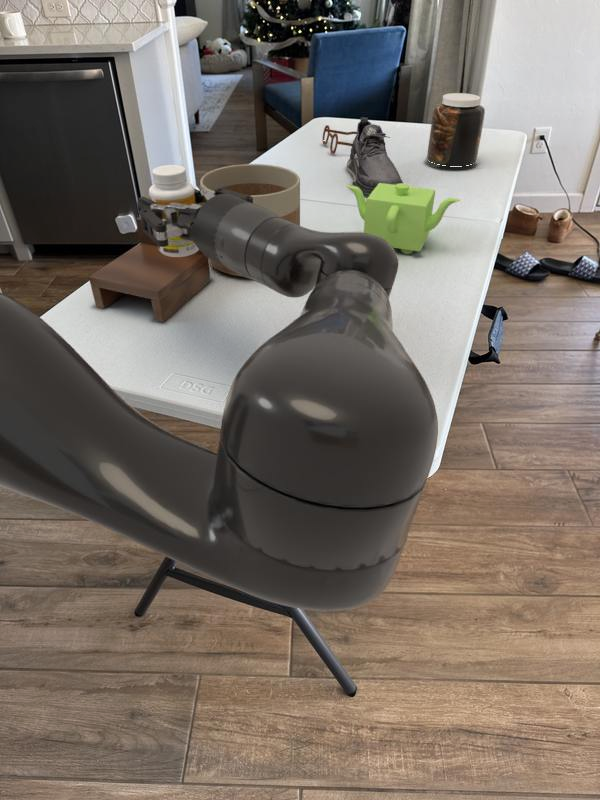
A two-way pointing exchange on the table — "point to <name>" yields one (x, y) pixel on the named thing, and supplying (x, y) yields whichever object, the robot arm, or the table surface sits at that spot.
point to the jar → (456, 132)
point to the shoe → (371, 159)
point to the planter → (258, 190)
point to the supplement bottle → (174, 189)
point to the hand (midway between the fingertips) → (163, 199)
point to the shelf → (151, 277)
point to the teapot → (400, 214)
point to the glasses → (336, 138)
